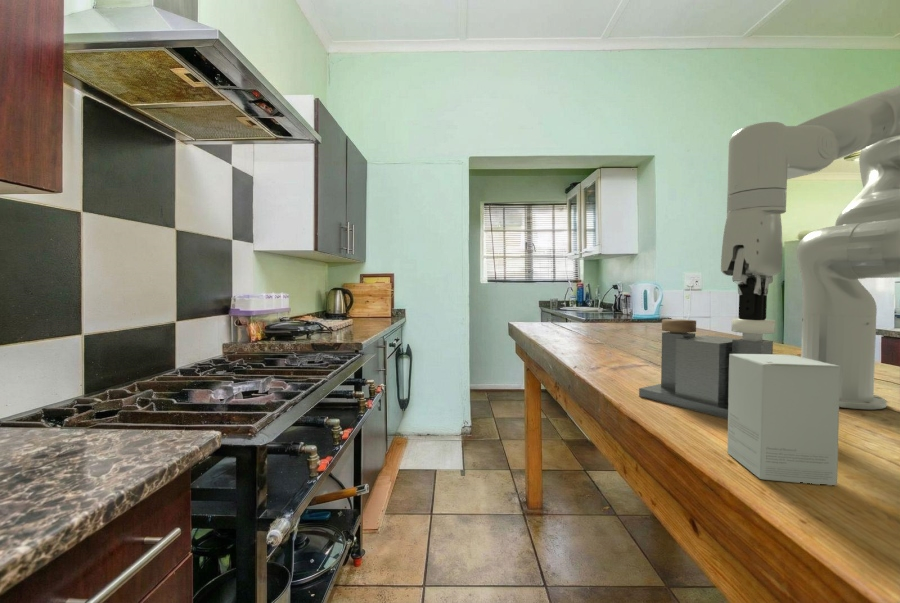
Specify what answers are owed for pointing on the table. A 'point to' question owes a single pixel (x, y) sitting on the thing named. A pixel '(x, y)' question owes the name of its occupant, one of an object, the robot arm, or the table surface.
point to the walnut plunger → (678, 326)
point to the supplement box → (784, 417)
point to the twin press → (699, 371)
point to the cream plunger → (753, 328)
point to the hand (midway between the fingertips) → (752, 319)
